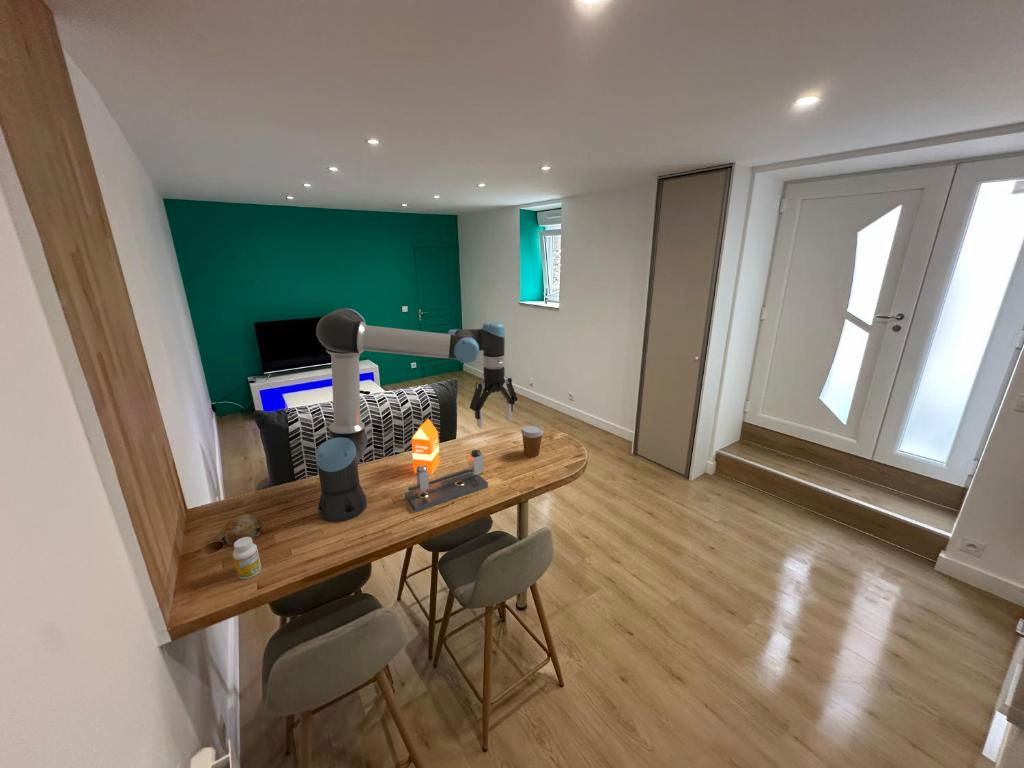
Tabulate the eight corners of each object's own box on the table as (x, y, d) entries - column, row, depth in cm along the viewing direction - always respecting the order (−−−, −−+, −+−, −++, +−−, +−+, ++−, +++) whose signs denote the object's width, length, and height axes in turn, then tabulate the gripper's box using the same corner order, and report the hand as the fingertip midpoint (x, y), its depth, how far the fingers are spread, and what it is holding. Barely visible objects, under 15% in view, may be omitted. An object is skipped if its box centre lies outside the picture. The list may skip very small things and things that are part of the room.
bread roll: (251, 554, 117) (259, 532, 116) (211, 548, 113) (220, 525, 112) (261, 533, 126) (269, 512, 125) (224, 526, 122) (232, 505, 121)
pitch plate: (415, 512, 132) (413, 478, 128) (405, 498, 140) (402, 465, 136) (487, 487, 147) (487, 455, 143) (474, 475, 155) (474, 445, 151)
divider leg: (474, 479, 146) (474, 455, 143) (469, 474, 149) (468, 451, 146) (483, 476, 148) (483, 452, 145) (478, 471, 151) (478, 448, 148)
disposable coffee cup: (541, 460, 167) (542, 434, 163) (518, 458, 169) (519, 432, 165) (543, 450, 176) (544, 425, 172) (522, 448, 178) (523, 423, 174)
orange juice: (439, 463, 163) (437, 418, 157) (432, 474, 155) (429, 427, 149) (421, 461, 165) (419, 417, 159) (413, 472, 156) (410, 425, 150)
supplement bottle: (239, 568, 107) (232, 538, 104) (262, 562, 110) (256, 532, 107) (236, 582, 103) (228, 551, 100) (260, 575, 105) (253, 545, 102)
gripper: (468, 374, 131) (470, 434, 138) (527, 364, 144) (526, 419, 150) (458, 369, 137) (460, 426, 143) (515, 359, 150) (515, 413, 156)
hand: (494, 423), depth 147 cm, fingers open, 12 cm apart
